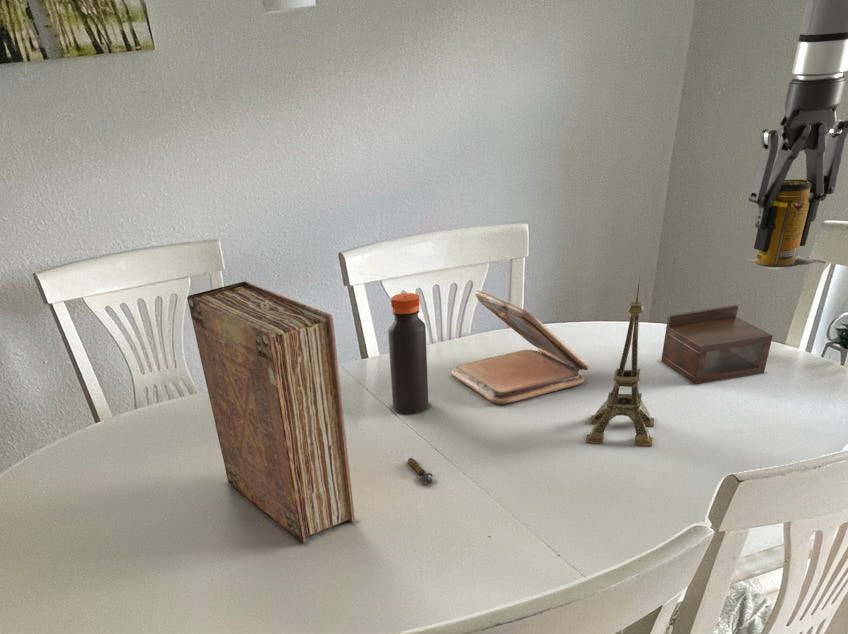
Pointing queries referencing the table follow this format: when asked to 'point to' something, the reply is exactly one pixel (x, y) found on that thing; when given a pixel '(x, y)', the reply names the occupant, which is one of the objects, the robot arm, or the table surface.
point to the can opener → (420, 472)
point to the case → (522, 360)
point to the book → (276, 404)
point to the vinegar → (408, 355)
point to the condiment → (787, 227)
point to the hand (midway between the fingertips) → (779, 246)
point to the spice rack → (714, 345)
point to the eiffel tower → (625, 402)
